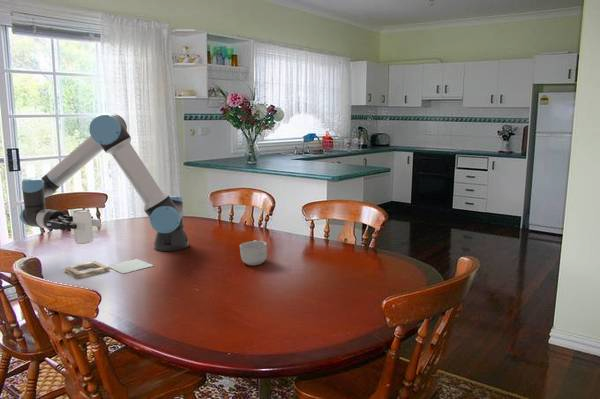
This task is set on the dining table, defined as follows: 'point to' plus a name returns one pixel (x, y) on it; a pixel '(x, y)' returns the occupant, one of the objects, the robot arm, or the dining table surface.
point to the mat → (130, 266)
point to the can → (85, 218)
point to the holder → (99, 269)
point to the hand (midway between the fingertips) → (91, 225)
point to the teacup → (253, 252)
